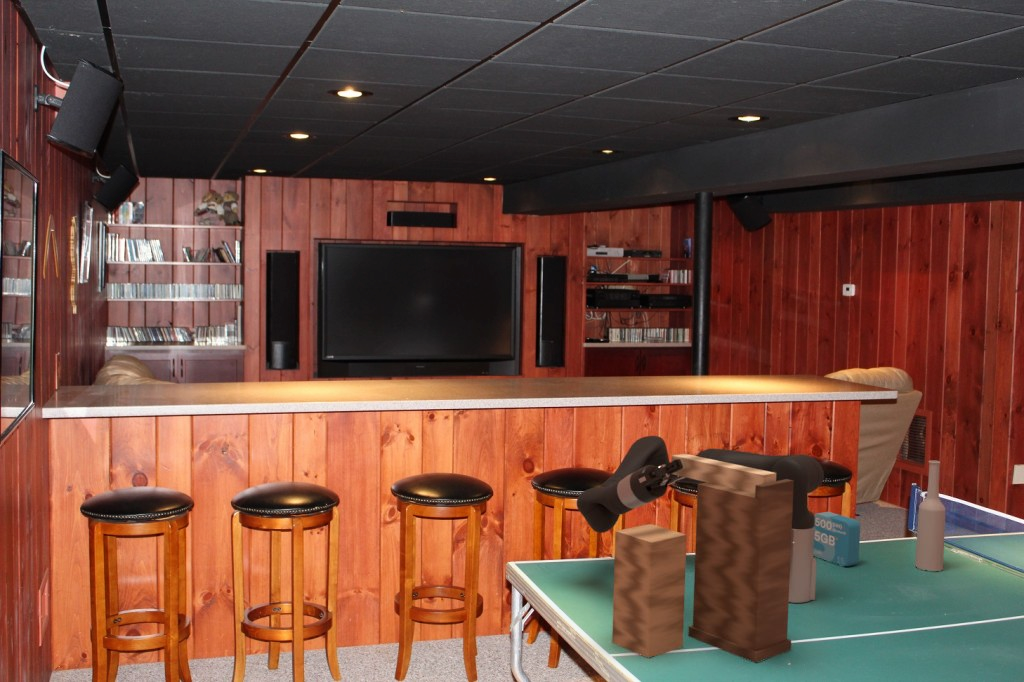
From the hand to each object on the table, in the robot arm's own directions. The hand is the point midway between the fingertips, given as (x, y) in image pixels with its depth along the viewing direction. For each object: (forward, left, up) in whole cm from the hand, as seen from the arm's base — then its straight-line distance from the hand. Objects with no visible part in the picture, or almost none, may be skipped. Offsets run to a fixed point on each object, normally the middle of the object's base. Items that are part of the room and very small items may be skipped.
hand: (691, 461), depth 209 cm
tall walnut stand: (-7, +12, -35) cm, 38 cm away
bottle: (-76, -32, -35) cm, 90 cm away
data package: (-54, -40, -35) cm, 76 cm away
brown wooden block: (-4, +7, -3) cm, 9 cm away
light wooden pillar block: (+12, +11, -35) cm, 39 cm away
